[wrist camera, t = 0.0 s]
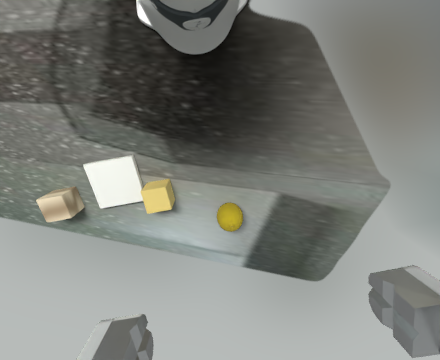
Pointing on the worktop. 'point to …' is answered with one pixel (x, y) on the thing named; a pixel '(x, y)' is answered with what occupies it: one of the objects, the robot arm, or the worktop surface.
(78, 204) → the beech brick
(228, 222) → the lemon
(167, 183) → the mustard brick
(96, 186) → the plate
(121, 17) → the worktop surface
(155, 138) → the worktop surface
